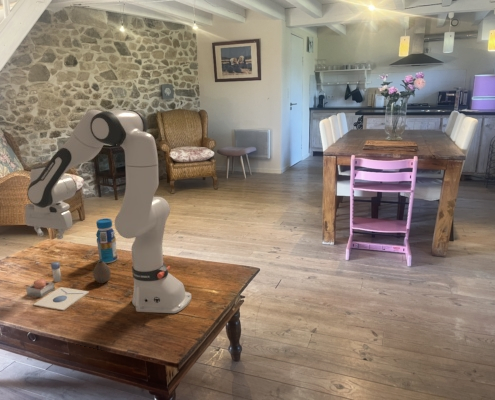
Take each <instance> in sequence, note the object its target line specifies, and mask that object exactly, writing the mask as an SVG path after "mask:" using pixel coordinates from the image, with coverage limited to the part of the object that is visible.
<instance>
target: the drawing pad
mask: <svg viewBox="0 0 495 400" xmlns="http://www.w3.org/2000/svg"><path fill="white" fill-rule="evenodd" d="M89 293H90V291H88V290H81V289H76V288H69V287H62V286H60V287H58V288H56V289H54V290H53V291H51V292H50V293H48V294H46V295H45V296H43V297H42V298H41V299H39V300H38V301H36V302H35V303H33V306H36V307H40V308H41V307H42V308H48V309H53V310H58V311H63V312H64V311H65V310H67V309H68V308H70V307H71V306H72V305H74V304H75V303H76V302H78V301H79V300H81V299H82V298H84V297H85V296H86V295H88V294H89Z"/></svg>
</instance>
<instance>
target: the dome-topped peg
mask: <svg viewBox="0 0 495 400" xmlns="http://www.w3.org/2000/svg"><path fill="white" fill-rule="evenodd" d="M60 266H61V265H60V262H59V261H53V262H51V263H50V267H51V272H52V278H53V282H54V283H59V282H62V274H61V267H60Z"/></svg>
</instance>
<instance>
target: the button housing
mask: <svg viewBox="0 0 495 400" xmlns="http://www.w3.org/2000/svg"><path fill="white" fill-rule="evenodd" d="M45 281H46V280H45ZM25 290H26V295H27V296H31V297H37V298H41V299H42V298H44V297H45V296H47V295H49V294H50V293H52V292H53V291H55V290H56V288H55V282H54V281H53V282H52V281H46V286H45V287H43V288H41V289H36V288H34V283H32V284H31V285H29V286H27V287H26V288H25Z"/></svg>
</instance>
